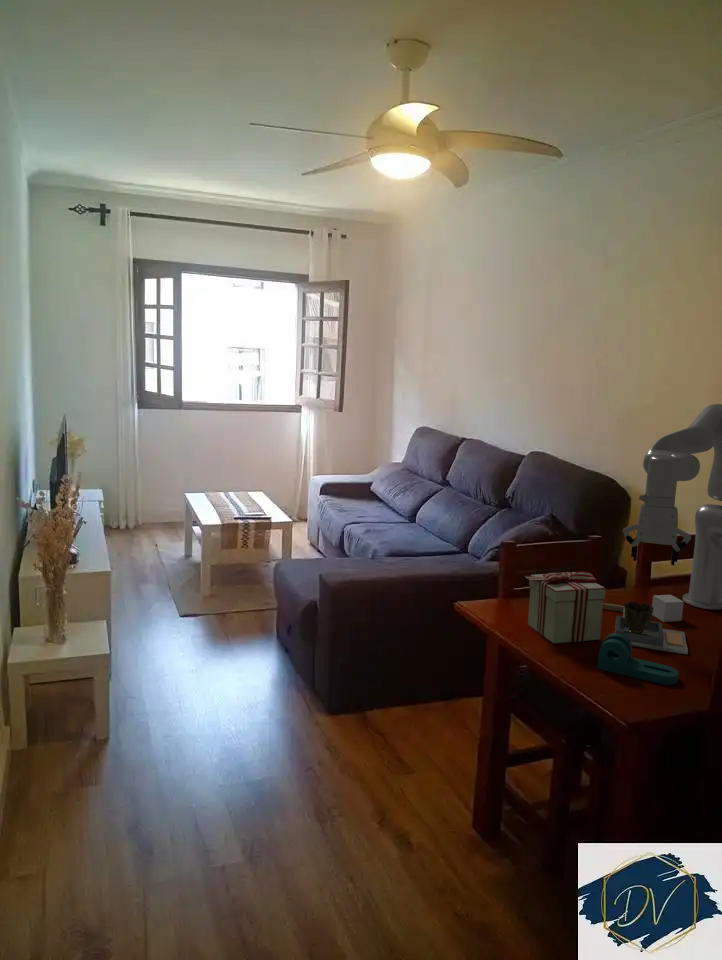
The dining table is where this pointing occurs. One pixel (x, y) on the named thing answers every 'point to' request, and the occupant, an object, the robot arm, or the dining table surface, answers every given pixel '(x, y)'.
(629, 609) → the cup
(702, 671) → the dining table surface
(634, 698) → the dining table surface
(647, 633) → the grey flat rectangular tray
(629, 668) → the bracket
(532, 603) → the gift box
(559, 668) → the dining table surface
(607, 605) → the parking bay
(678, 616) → the white cube
